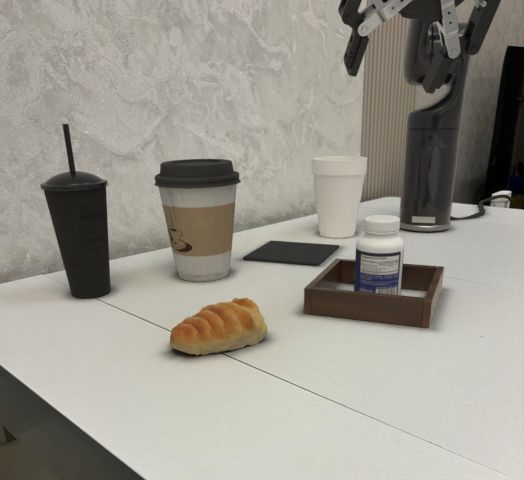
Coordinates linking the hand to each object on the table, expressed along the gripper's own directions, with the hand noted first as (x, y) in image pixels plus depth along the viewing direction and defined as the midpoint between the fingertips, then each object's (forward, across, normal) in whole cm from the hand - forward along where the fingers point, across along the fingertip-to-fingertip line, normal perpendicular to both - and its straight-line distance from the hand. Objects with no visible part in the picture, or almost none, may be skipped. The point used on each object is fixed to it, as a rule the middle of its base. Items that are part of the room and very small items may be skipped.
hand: (389, 81), depth 56 cm
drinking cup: (+31, +29, +4) cm, 43 cm away
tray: (+20, -4, +11) cm, 23 cm away
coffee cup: (+31, +15, -2) cm, 34 cm away
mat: (+32, 0, -11) cm, 34 cm away
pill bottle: (+20, -4, +11) cm, 24 cm away
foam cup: (+35, -10, -23) cm, 43 cm away
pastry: (+20, +14, +20) cm, 32 cm away
